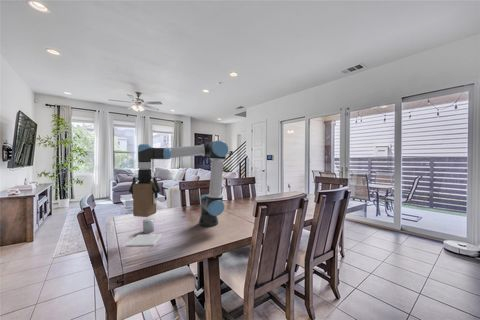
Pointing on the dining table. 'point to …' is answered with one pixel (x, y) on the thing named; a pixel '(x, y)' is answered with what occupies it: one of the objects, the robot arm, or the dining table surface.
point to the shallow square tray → (145, 240)
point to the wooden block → (143, 200)
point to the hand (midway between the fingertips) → (145, 203)
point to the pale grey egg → (148, 225)
